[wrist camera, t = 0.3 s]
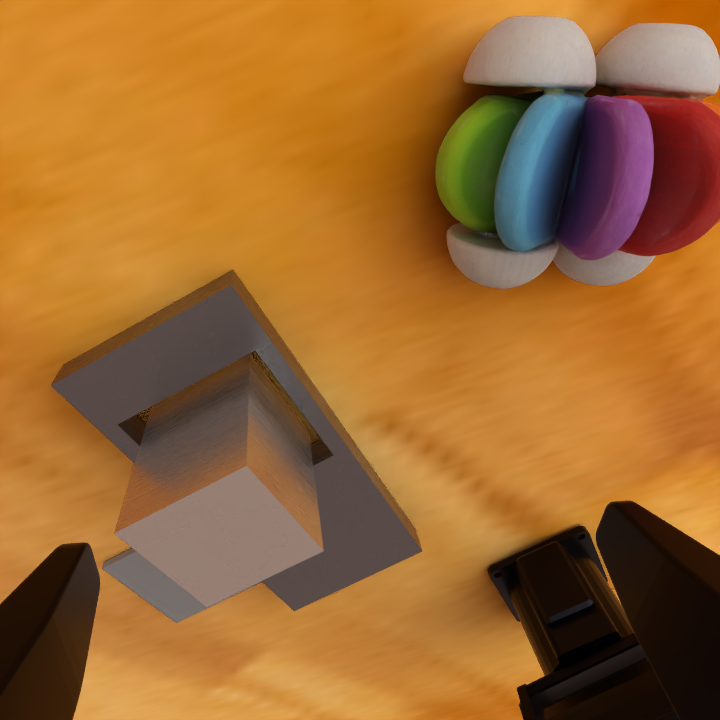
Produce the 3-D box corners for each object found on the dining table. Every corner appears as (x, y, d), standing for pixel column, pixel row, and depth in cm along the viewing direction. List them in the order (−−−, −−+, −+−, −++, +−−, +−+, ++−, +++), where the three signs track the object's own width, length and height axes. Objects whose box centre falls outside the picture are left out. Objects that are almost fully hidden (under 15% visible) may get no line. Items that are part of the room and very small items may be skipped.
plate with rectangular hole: (415, 529, 30) (422, 551, 28) (292, 587, 31) (294, 611, 29) (233, 269, 20) (230, 284, 19) (63, 364, 21) (50, 385, 20)
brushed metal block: (308, 430, 25) (323, 551, 19) (219, 476, 26) (206, 607, 20) (250, 353, 22) (246, 465, 16) (151, 406, 23) (114, 533, 17)
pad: (266, 573, 30) (266, 579, 29) (177, 616, 30) (176, 622, 30) (202, 512, 26) (201, 518, 26) (104, 562, 27) (102, 568, 27)
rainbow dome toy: (624, 259, 23) (755, 339, 17) (409, 261, 21) (467, 350, 15) (697, 30, 19) (910, 26, 13) (433, 12, 17) (529, -3, 11)
